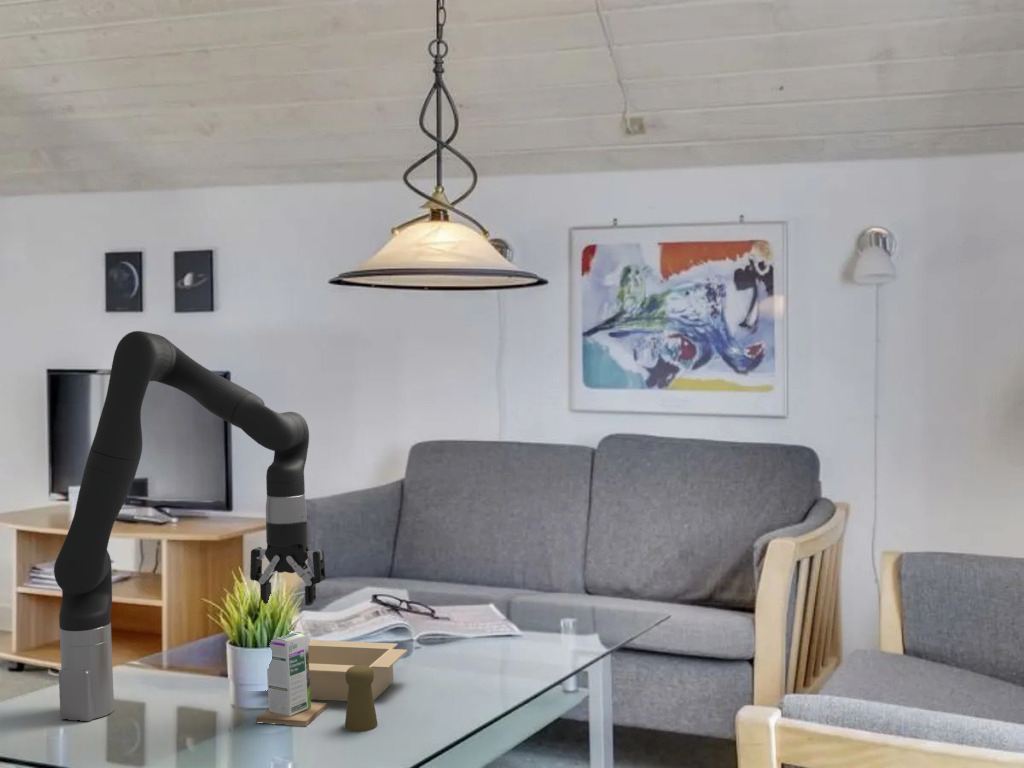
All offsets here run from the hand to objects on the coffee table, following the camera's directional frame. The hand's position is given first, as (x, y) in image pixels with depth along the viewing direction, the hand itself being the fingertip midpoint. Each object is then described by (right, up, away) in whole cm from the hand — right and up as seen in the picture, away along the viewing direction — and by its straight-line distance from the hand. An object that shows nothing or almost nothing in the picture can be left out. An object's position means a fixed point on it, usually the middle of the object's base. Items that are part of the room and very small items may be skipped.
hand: (288, 603), depth 207 cm
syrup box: (0, -21, +1) cm, 21 cm away
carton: (+7, -21, +16) cm, 27 cm away
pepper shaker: (+14, -22, -5) cm, 27 cm away
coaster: (0, -21, +1) cm, 22 cm away
